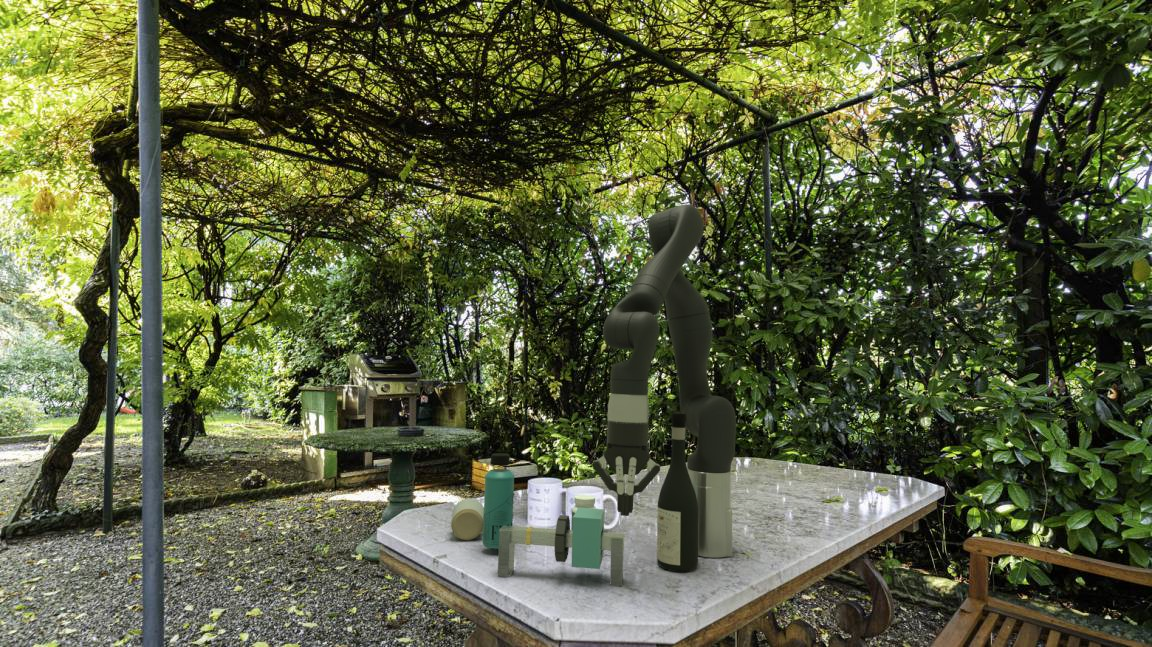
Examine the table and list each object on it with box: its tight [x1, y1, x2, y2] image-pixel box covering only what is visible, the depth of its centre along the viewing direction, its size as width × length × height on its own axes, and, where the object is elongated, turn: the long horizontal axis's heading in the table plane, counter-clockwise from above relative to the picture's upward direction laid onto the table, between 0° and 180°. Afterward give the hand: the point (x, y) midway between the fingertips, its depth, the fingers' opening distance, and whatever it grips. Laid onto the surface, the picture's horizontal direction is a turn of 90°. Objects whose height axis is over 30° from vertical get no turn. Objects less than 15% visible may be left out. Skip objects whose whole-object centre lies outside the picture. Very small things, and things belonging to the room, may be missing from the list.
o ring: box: [554, 514, 571, 563], centre depth 103 cm, size 2×8×8 cm, turn 172°
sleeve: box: [571, 508, 605, 570], centre depth 103 cm, size 5×7×9 cm
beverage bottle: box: [481, 452, 516, 549], centre depth 118 cm, size 6×7×20 cm
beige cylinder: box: [450, 498, 484, 541], centre depth 127 cm, size 11×8×8 cm
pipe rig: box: [497, 525, 625, 587], centre depth 103 cm, size 23×4×8 cm, turn 82°
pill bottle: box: [570, 494, 598, 530], centre depth 125 cm, size 6×6×10 cm
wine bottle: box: [656, 412, 699, 573], centre depth 112 cm, size 8×8×30 cm
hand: (624, 514), depth 102 cm, fingers closed
